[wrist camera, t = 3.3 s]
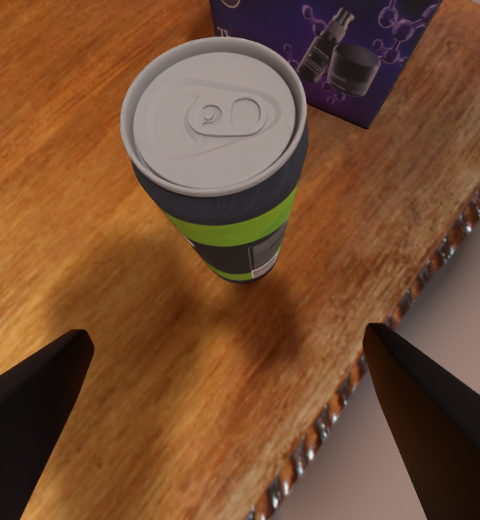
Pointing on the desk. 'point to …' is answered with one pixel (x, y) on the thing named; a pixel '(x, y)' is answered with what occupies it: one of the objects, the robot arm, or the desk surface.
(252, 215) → the beverage can
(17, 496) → the robot arm
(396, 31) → the box
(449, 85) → the desk surface
